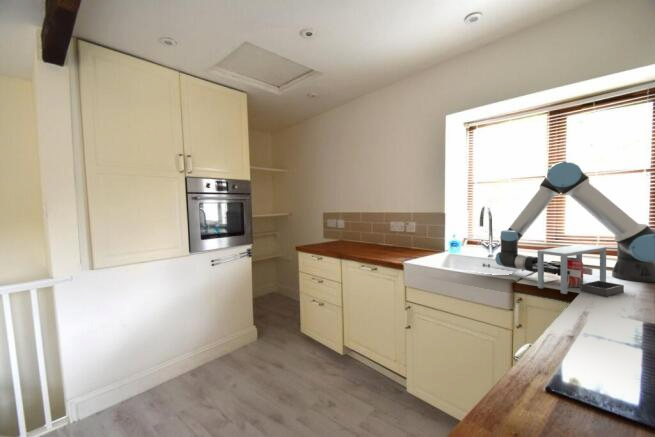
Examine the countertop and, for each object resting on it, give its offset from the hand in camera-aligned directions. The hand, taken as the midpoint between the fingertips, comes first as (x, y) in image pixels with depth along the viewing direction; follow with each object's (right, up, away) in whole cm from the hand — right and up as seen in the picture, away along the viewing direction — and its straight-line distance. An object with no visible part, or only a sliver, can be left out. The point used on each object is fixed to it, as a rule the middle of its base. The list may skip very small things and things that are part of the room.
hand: (586, 273), depth 114 cm
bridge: (-2, -6, +5) cm, 8 cm away
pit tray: (+2, -7, -4) cm, 8 cm away
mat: (-6, -6, +17) cm, 19 cm away
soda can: (-2, -7, +5) cm, 8 cm away
